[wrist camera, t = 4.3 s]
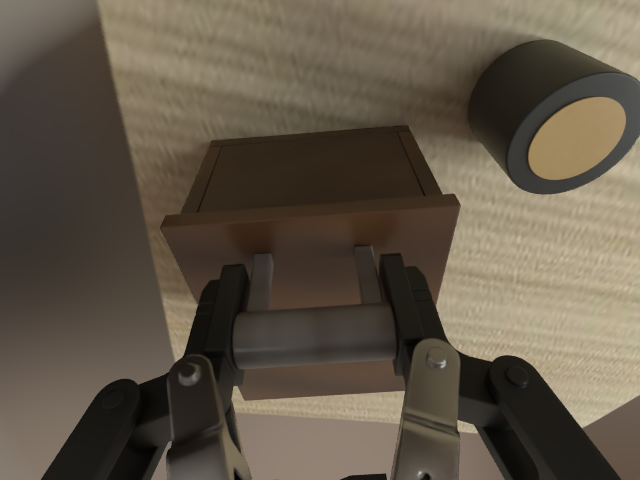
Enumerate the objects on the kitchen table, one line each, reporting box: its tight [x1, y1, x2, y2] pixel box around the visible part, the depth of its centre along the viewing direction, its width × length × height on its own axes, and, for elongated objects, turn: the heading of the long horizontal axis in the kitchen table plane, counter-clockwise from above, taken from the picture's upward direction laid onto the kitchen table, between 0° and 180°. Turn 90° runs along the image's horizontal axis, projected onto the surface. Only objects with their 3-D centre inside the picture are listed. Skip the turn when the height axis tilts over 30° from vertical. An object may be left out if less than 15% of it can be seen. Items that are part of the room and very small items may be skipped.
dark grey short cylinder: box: [468, 40, 640, 194], centre depth 17 cm, size 6×6×5 cm
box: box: [180, 126, 442, 214], centre depth 22 cm, size 14×11×8 cm
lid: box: [160, 194, 461, 401], centre depth 16 cm, size 15×11×5 cm
